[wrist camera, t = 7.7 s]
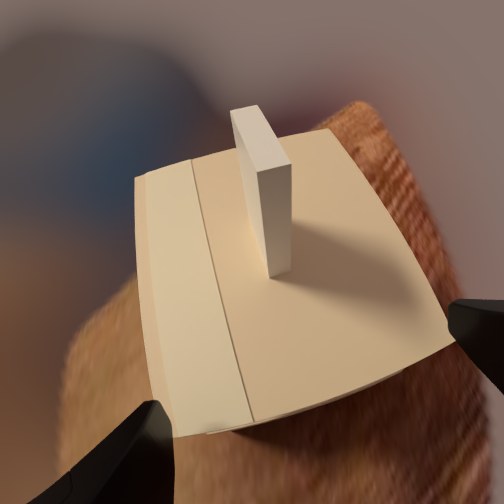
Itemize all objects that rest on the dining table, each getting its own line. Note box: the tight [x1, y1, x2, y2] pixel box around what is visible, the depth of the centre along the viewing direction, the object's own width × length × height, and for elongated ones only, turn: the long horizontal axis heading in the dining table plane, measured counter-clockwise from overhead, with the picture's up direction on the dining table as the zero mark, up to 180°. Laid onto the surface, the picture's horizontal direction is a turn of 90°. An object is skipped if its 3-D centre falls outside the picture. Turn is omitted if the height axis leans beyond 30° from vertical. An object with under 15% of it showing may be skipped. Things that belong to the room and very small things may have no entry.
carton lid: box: [135, 105, 456, 438], centre depth 10 cm, size 12×10×6 cm
